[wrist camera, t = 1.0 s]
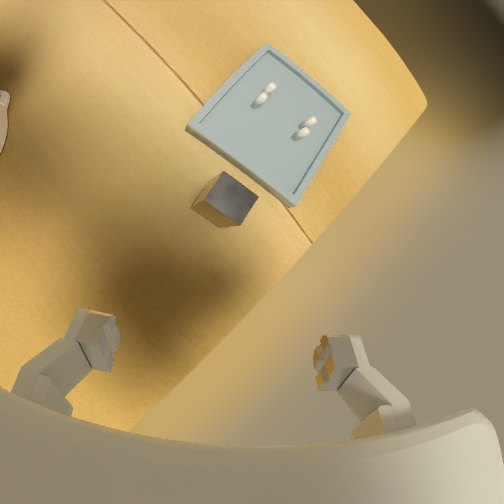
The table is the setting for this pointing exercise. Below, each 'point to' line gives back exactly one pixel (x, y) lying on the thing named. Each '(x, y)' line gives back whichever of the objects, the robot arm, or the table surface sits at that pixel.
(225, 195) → the drive
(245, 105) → the tray
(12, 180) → the table surface
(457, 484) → the robot arm
